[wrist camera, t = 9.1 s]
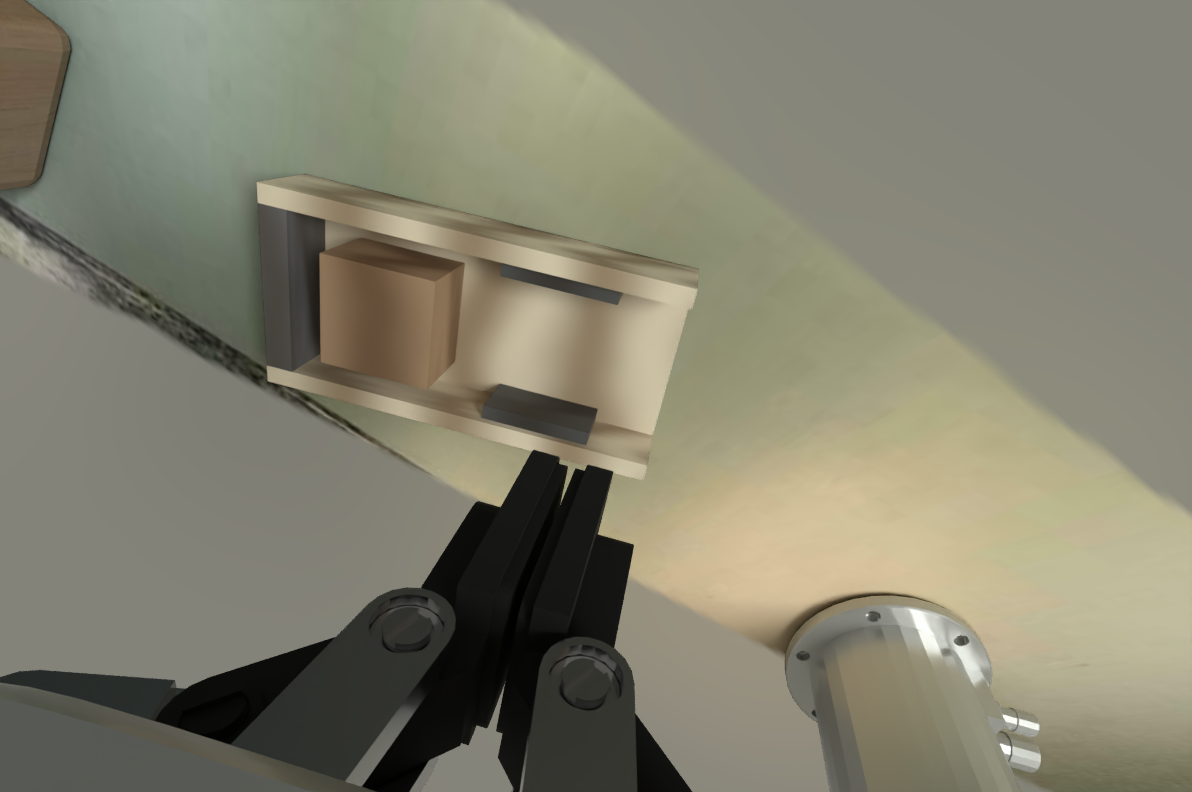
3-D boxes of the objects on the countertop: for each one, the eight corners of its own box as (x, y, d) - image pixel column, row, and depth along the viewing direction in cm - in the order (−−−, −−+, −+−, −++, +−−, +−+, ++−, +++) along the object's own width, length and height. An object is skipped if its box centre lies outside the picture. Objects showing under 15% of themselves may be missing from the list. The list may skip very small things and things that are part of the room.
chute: (698, 268, 32) (697, 289, 28) (649, 444, 37) (643, 480, 33) (305, 174, 33) (256, 181, 29) (309, 355, 38) (267, 381, 34)
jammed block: (464, 263, 33) (435, 281, 29) (455, 361, 36) (426, 389, 32) (361, 237, 33) (319, 252, 30) (359, 337, 36) (320, 362, 32)
